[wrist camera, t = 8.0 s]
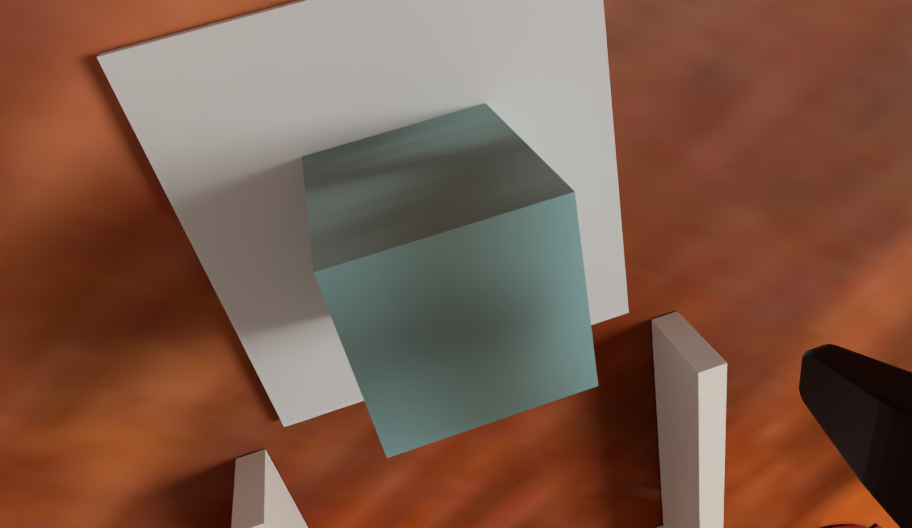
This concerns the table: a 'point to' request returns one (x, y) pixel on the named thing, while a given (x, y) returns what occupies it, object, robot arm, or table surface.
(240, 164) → the grey mat
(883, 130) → the table surface
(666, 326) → the white u-shaped frame
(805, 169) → the table surface
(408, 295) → the teal block
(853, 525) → the alarm clock
